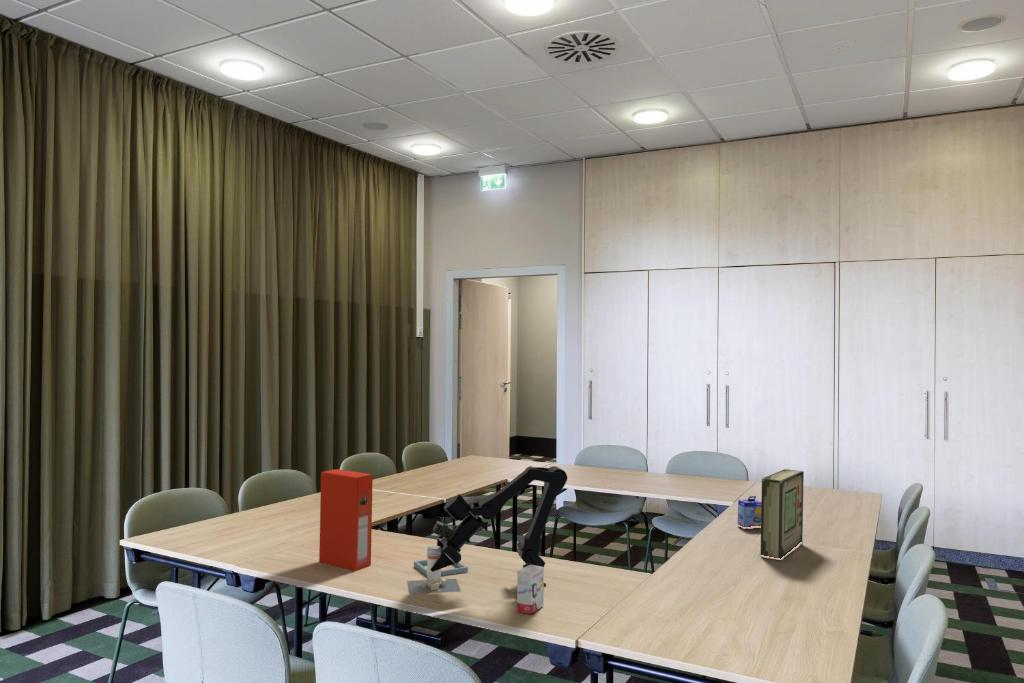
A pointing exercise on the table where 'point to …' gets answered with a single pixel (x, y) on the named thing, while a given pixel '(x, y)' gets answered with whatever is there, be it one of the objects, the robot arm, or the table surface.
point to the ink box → (530, 589)
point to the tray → (460, 569)
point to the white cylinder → (432, 557)
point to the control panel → (781, 512)
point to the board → (433, 586)
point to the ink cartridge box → (749, 512)
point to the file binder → (346, 519)
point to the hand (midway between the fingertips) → (430, 566)
